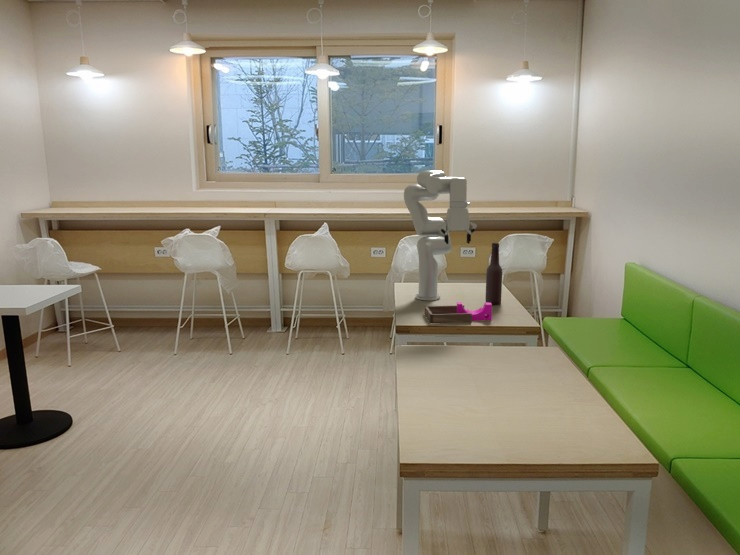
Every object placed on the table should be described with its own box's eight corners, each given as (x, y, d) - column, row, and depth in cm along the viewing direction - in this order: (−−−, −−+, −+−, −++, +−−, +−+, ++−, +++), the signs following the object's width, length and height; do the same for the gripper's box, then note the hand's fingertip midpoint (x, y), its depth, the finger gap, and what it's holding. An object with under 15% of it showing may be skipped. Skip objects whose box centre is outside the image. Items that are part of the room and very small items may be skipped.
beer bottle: (495, 300, 293) (498, 241, 287) (503, 304, 286) (506, 243, 280) (482, 302, 291) (484, 242, 285) (490, 305, 284) (492, 244, 278)
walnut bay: (424, 314, 269) (424, 306, 268) (463, 313, 270) (463, 305, 269) (430, 323, 255) (430, 314, 254) (471, 322, 256) (471, 313, 255)
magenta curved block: (489, 317, 265) (490, 301, 263) (491, 321, 259) (491, 304, 257) (456, 316, 266) (456, 300, 265) (457, 320, 260) (457, 304, 259)
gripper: (475, 204, 267) (474, 242, 270) (437, 205, 266) (437, 242, 269) (479, 205, 259) (478, 244, 262) (440, 206, 258) (440, 244, 261)
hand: (457, 243), depth 266 cm, fingers open, 9 cm apart
